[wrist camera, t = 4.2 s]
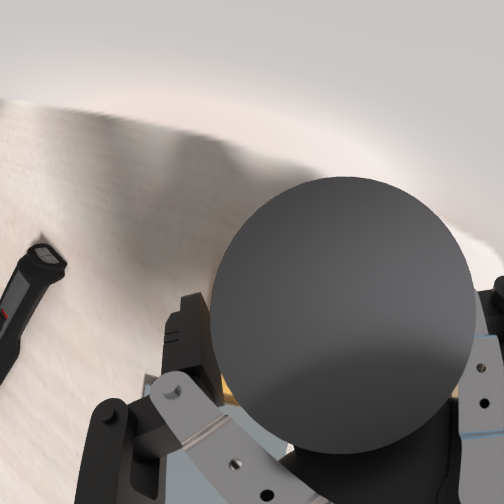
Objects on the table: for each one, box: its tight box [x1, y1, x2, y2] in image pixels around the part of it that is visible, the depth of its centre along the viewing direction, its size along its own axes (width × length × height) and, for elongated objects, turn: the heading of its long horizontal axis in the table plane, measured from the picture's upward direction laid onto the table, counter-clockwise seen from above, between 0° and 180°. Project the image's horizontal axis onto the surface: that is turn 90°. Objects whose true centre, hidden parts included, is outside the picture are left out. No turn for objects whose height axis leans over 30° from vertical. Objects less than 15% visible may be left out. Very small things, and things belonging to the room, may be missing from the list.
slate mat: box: [144, 383, 288, 504], centre depth 15 cm, size 9×9×1 cm
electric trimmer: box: [0, 243, 67, 385], centre depth 17 cm, size 4×16×3 cm, turn 145°
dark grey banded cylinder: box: [210, 177, 476, 454], centre depth 11 cm, size 5×5×14 cm
